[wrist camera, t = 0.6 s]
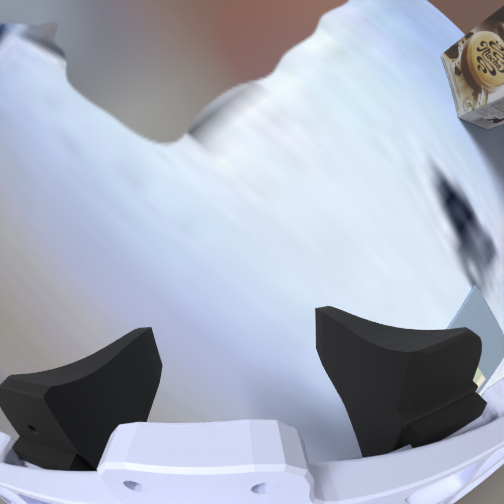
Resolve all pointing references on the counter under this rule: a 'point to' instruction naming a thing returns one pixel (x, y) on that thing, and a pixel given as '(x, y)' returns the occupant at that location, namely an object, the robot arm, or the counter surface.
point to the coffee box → (479, 73)
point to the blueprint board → (482, 333)
